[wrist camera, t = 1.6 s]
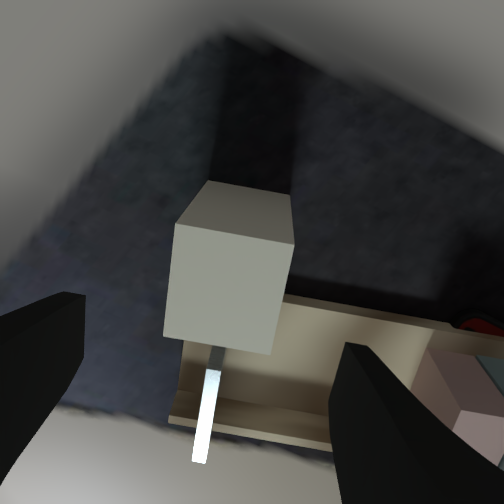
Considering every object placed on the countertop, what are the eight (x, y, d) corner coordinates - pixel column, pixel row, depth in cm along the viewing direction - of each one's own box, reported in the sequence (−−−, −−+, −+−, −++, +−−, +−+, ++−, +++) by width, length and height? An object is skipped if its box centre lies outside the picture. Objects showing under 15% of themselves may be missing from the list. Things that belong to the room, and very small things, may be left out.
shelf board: (532, 338, 23) (567, 373, 20) (484, 439, 25) (509, 483, 23) (194, 277, 23) (182, 304, 20) (180, 385, 25) (168, 422, 22)
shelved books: (524, 363, 22) (589, 437, 18) (488, 437, 24) (539, 522, 19) (426, 345, 22) (466, 415, 18) (398, 421, 24) (427, 502, 19)
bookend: (233, 311, 22) (221, 371, 17) (219, 389, 24) (205, 463, 19) (221, 309, 22) (206, 368, 17) (208, 387, 24) (191, 461, 19)
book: (289, 195, 21) (294, 245, 14) (272, 276, 22) (270, 355, 16) (207, 180, 21) (175, 223, 14) (196, 263, 22) (163, 336, 16)
